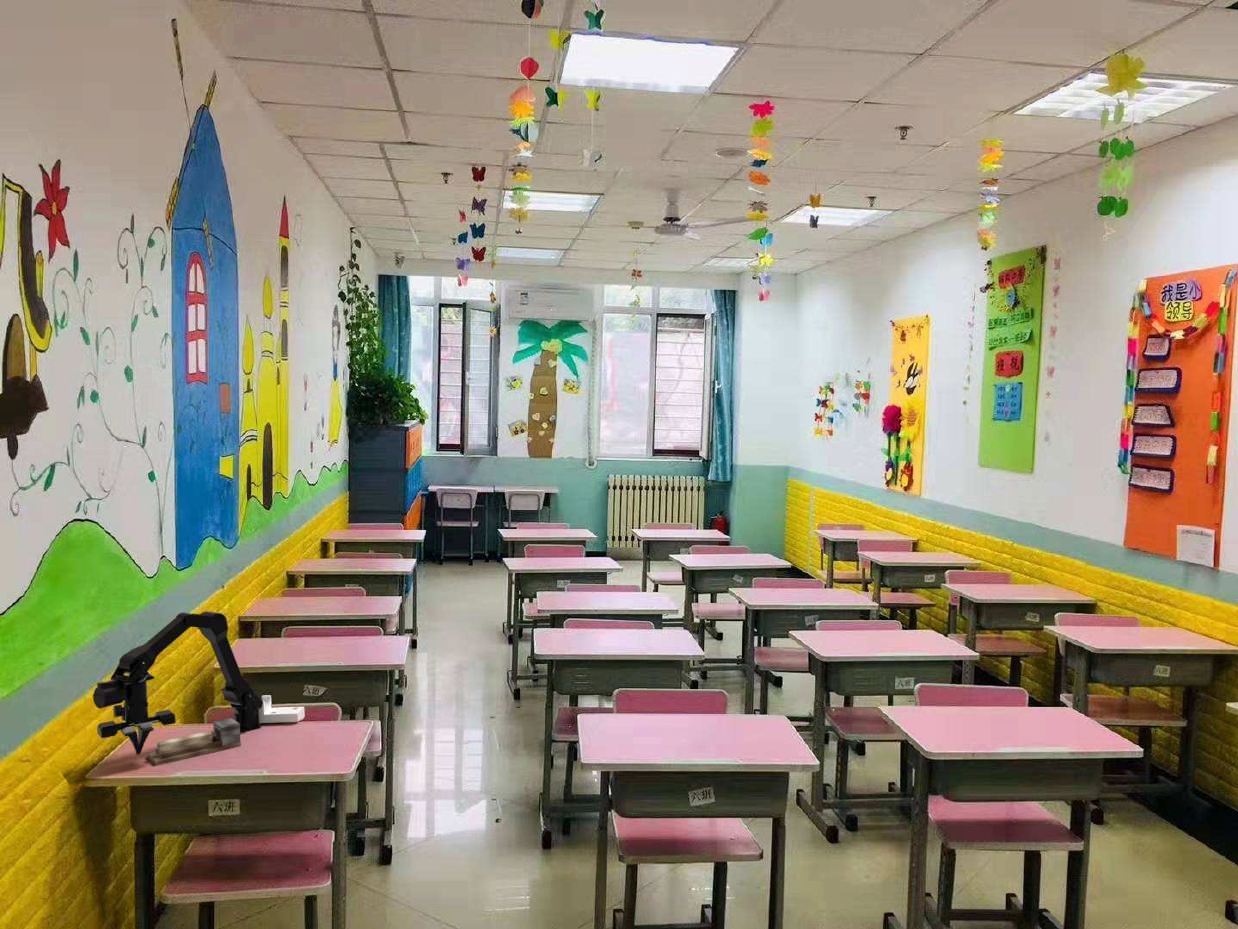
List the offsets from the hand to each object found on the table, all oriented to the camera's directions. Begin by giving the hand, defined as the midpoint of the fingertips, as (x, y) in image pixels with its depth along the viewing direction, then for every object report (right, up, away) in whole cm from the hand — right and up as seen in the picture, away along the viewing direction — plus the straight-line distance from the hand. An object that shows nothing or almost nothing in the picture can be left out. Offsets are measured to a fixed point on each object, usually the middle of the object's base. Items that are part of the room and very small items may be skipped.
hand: (138, 753), depth 260 cm
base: (+11, -2, +10) cm, 15 cm away
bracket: (+26, -1, +36) cm, 45 cm away
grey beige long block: (+9, -1, +8) cm, 12 cm away
